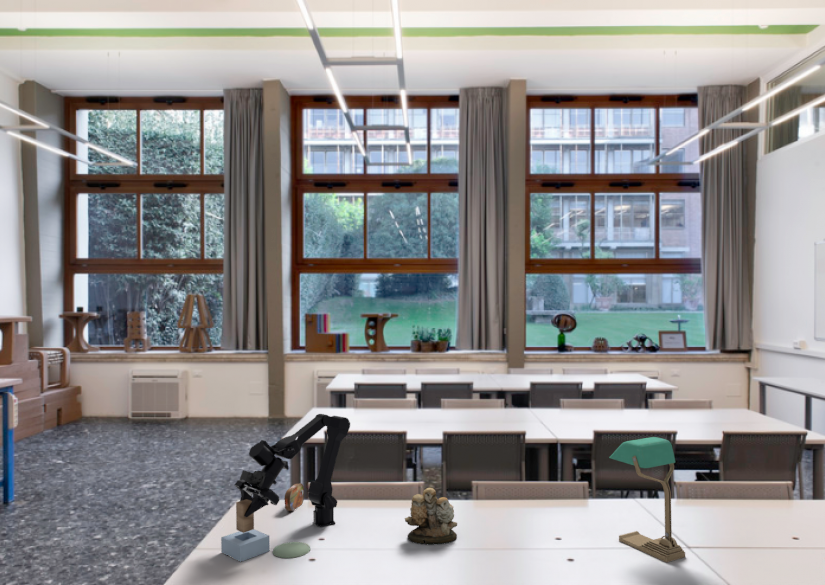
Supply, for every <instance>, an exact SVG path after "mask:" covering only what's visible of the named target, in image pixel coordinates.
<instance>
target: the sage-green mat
mask: <svg viewBox="0 0 825 585" xmlns="http://www.w3.org/2000/svg"><path fill="white" fill-rule="evenodd" d="M310 551H311V545H309V544H308V543H305V542H301V541H290V542H285V543H280V544H279V545H277V546H275V547H274V548H273V549H272V553H273V556H276V557H278V558H281V559H294V558H300V557H302V556H305V555H306V554H308V553H310Z"/></svg>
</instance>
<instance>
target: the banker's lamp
mask: <svg viewBox="0 0 825 585" xmlns="http://www.w3.org/2000/svg"><path fill="white" fill-rule="evenodd" d="M608 457H609V459H612V460H615V461H618V462H622V463H625V464H628V465H631V466H634V468H635V469H634V470H635V472H636V475H638V476H639V477H641V478H644V479H647V480H651V481H654V482H658V483H660V484H661V485H662V488H663V493H664V535H663V536H661V537H659V538H653V539H652V538H650V537H648V536H645V535H644V534H641V533H640V531H638V530H634V531H632V532H628V533H624V534H620V535H618V541H619V542H620V543H623V544H625V545H627V546H629V547H631V548H634V549H636V550H639V551H641V552H643V553H645V554H647V555H649V556H652V557H654V558H656V559H658V560H660V561H662V562H664V563H670V562H672V561H677V560H679V559H684V558H686V551H685V550H684V548H682V546H681V545H680V544H678V543H677V540H676V539H675V538H674V537H673V535H672V534H673V533H672V531H673V530H672V493H671V488H670V484H669V479H670V478H671V476H672V473H673V472H674V470H675V465H674V464H675V463H676V458H675V453H674V450H673V446H672V442H670V441H669V440H668V439H665V438H661V437H658V436H657V437H656V436H651V437H646V438H639V439H632V440H627V441H624V442H622V443H621V444H620V445H619V446H618V447H617V448H616V449H615V450H614V452H613V453H612V454H611V455H610V456H608ZM664 465H665V466H666V465H669V471H668V472H667V474H666V476H665V477H664V479H663V480H661V479H658V478H655V477H652V476H650V475H647V474H644V473H642V472H641V469H650V468H655V467H660V466H664ZM638 476H637V477H638Z"/></svg>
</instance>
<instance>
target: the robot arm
mask: <svg viewBox="0 0 825 585" xmlns="http://www.w3.org/2000/svg"><path fill="white" fill-rule="evenodd" d="M325 427H326V434H327V443H326V445H325V449H324V453H323V456H322V457H323V458H322V460H321V464H320V467H319V471H318V475H317V477H316V479H315V480H311V481H310V482H309V487H308V490H307V497H308V500H309V501H310V503H311V506H314V510H313V514H312V515H313V520H312V521H313V522H314V524H315V525H316V526H317V527H319V528H321V527H324V526H326V527H327V526H330V525H335V524H336V521H335V520H334V518H335V516H334V511H335V510H334V508H336V507H338V506H337V505H338V500H337V499H336V498H335V497H334V496H333V485H332V477H333V473H334V470H335V466H336V461H337V458H338V455H339V451H340V447H341V443H342V441H343V440H345V438H346V437H347V435H348V432H350V431H349V430H350V428H351V422H350V420H349V418H347V417H344V416H338V415H332V416H331V415H328V414H324V413H318V414H316V415H315V417H314V418H312V419H311V420H310V421H308V423H306V424H305V425H304V426H302V427H301V428H299V429H298V430H297V431H296V432H295V433H293V434H292V435H289V436H285V437H284V438H283V437H282V438H281V439H279V440H278V441H276V443H274V444H272V445H270V444H269V443H268V442H267V441H266V440H264V439H261V440H260V441H259V442H258V443H256V444H254V445H253V446H251V448H250V449H249V451H248V455H249V457H250V458H251V459H252V460H254V461H255V462H256V463H257V465H259V466H260V467H262V469H261V470H255V471H254V472H251V471H248V470H243V469H242V472H241V475H240V477H239V479H238V480H236V482H235V483H234V487H235V488H236V489H237V490H239V491H240V500H239V501H242V500H246V499H248V500H250V501H252V502H251V504H250V505H249V507H248V509H247V511H246V512H245V514H244V516H245V517H248V516H250V515H251V514H253V513H254V514H255V513H256V512H257V511H258V510H261V509H262V508H264V507H265V506H269V505H273V506H278V504H279V502H280V496H279V495H278V494H277V493H275V491H274V490H273V489H270V488H271V487H272V486H273V485H275V486H276V484H277V482H278V481H276V480H277V478H278V477H279V475H280V473H281V472H282V470H287V471H288V470H289V469H290V467H289V461H286V460H283V459H287V460H292V459H294V457H296V456H297V454H298V453H299V452H300V451H301V449H302V446H303V445H304V444H305V443H306V442H307V441H309V440H310V439H311V438H313V437H314V436H315V435H316V434H317V433H319V431H321V430H322V429H323V428H325ZM269 501H270V504H269Z"/></svg>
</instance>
